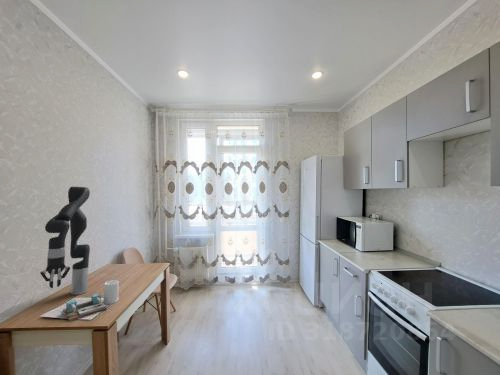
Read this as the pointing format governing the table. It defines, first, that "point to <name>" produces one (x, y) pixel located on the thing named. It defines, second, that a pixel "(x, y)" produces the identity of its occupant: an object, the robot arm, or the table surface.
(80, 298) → the table surface
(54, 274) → the robot arm
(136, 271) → the table surface
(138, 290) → the table surface
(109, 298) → the mug
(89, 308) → the board
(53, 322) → the table surface
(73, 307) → the sliding leg
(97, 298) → the fixed leg
